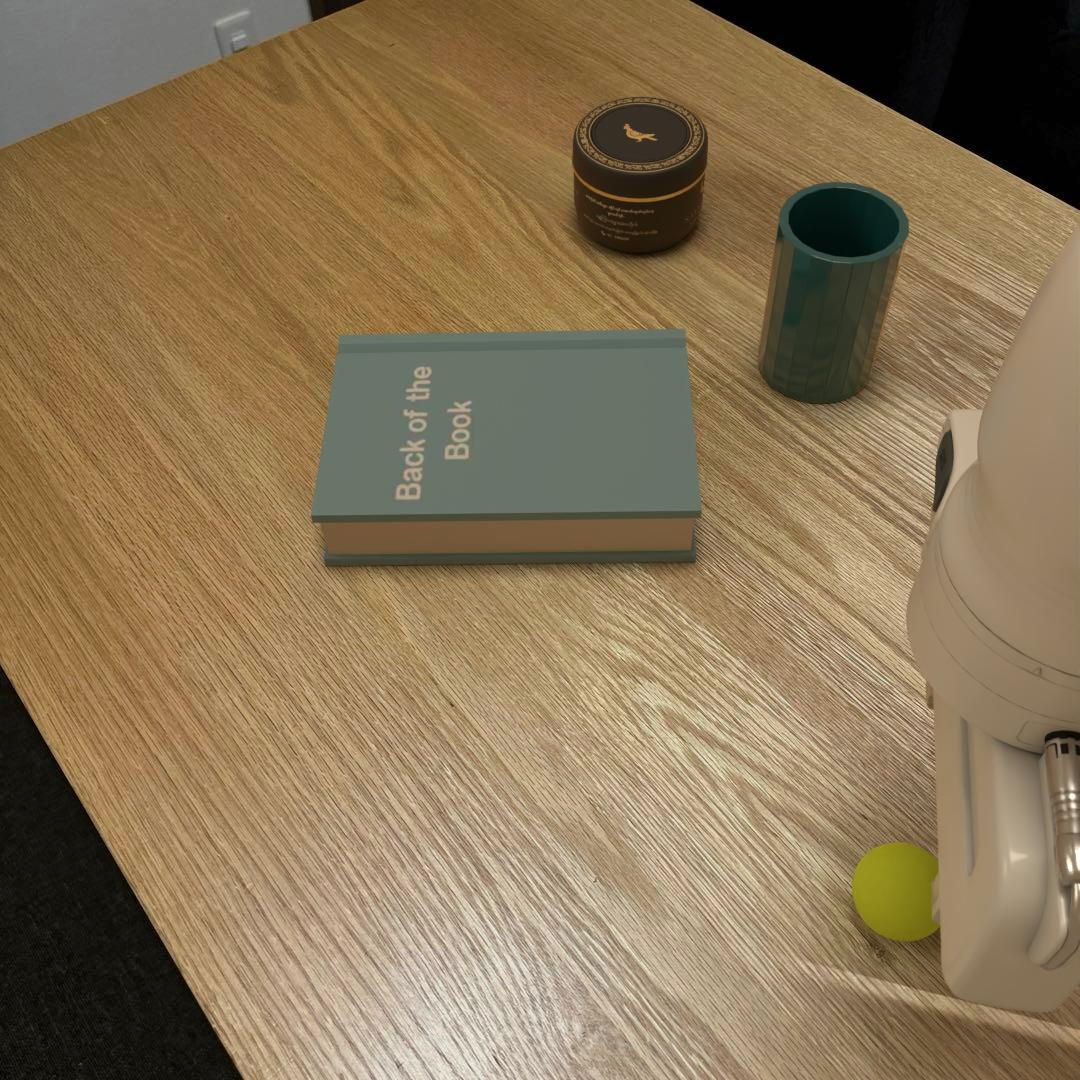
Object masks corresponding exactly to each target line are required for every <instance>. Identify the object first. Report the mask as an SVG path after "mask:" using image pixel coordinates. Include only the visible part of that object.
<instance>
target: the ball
mask: <svg viewBox="0 0 1080 1080" xmlns="http://www.w3.org/2000/svg"><path fill="white" fill-rule="evenodd" d="M938 872H939V868H938V858H936V857H935V856H934V855H932V854H931V853H930V852H929V851H927V850H926V849H924V848H923V847H921V846H918V845H915V844H912V843H909V842H904V841H903V842H901V841H893V842H887V843H886V842H885V843H883V844H880V845H878V846H875V847H873V849H871V850H869V851H868V852H867V853H866V854H865V855H864V856H863V857H862V858H861V859H860V861H859V862H858V864H857V866H856V867H855V869H854V871H853V875H852V881H851V895H852V896H851V897H852V900H853V904H854V906H855V910H856V911H857V913H858V915H859V916H860V918H861V919H862V921H863V922H864V923H865V925H867V926H868V928H869V929H871V930H872V931H874V932H875V933H876V934H878V935H879V936H881V937H883V938H886V939H889V940H892V941H896V942H916V941H919V940H922V939H925V938H927V937H929V936H931V935H933V934H934V933H935V932H936V931H937V930H938V929H939V928H940V924H938V923H936V922H934V921H933V920H932V882H933V881H935V878H936V875H937V874H938Z"/></svg>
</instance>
